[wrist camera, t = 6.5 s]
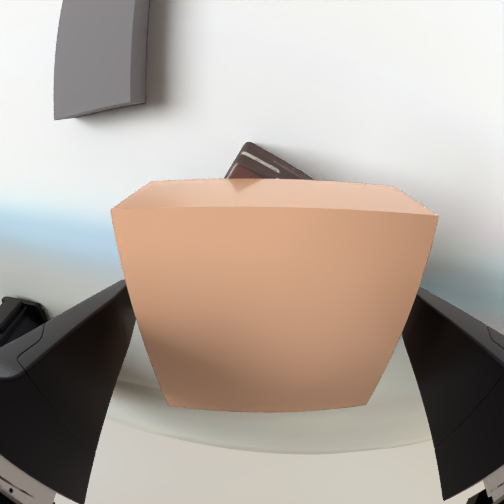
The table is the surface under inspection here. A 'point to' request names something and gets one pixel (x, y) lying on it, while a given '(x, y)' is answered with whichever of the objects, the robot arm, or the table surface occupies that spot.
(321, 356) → the tile
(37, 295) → the table surface
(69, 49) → the block
